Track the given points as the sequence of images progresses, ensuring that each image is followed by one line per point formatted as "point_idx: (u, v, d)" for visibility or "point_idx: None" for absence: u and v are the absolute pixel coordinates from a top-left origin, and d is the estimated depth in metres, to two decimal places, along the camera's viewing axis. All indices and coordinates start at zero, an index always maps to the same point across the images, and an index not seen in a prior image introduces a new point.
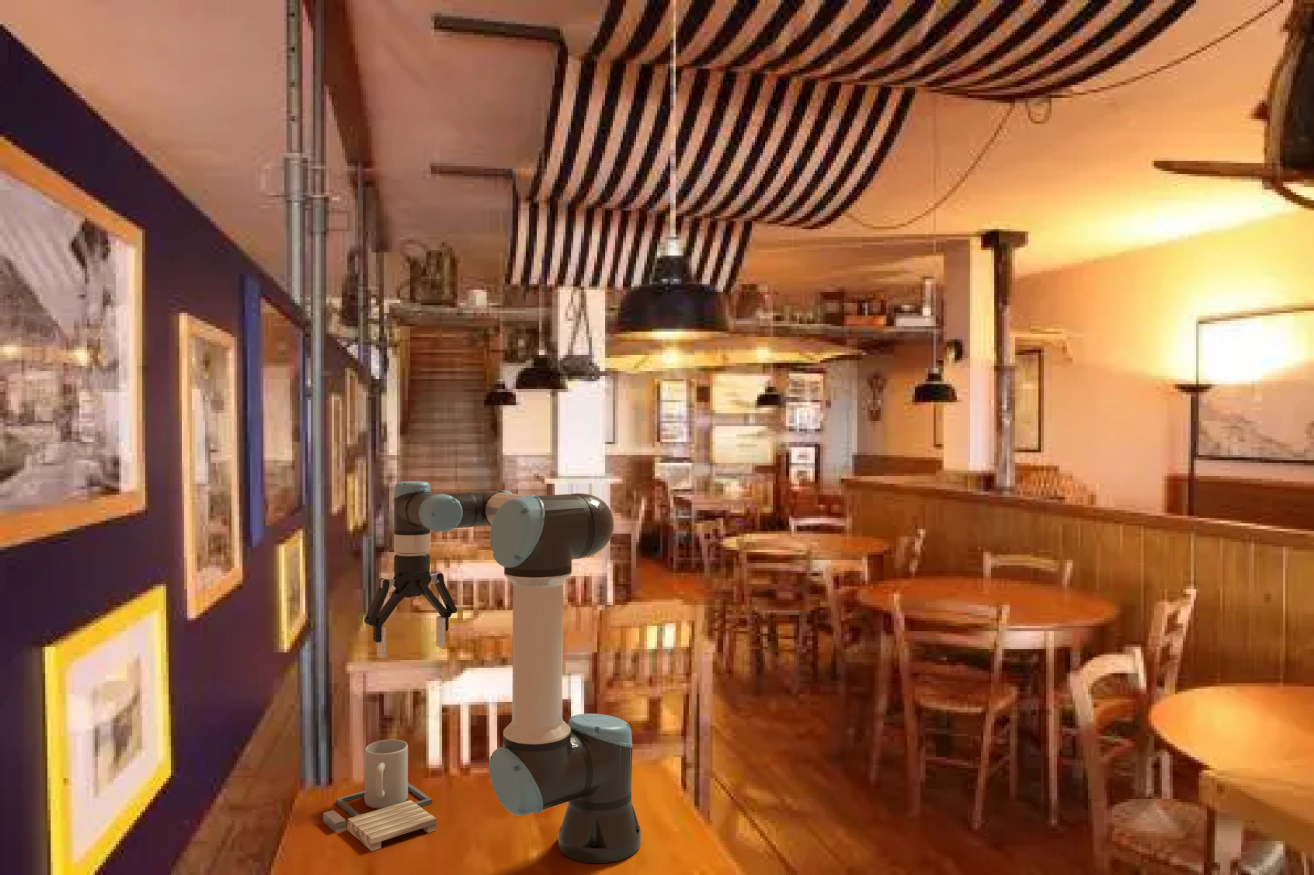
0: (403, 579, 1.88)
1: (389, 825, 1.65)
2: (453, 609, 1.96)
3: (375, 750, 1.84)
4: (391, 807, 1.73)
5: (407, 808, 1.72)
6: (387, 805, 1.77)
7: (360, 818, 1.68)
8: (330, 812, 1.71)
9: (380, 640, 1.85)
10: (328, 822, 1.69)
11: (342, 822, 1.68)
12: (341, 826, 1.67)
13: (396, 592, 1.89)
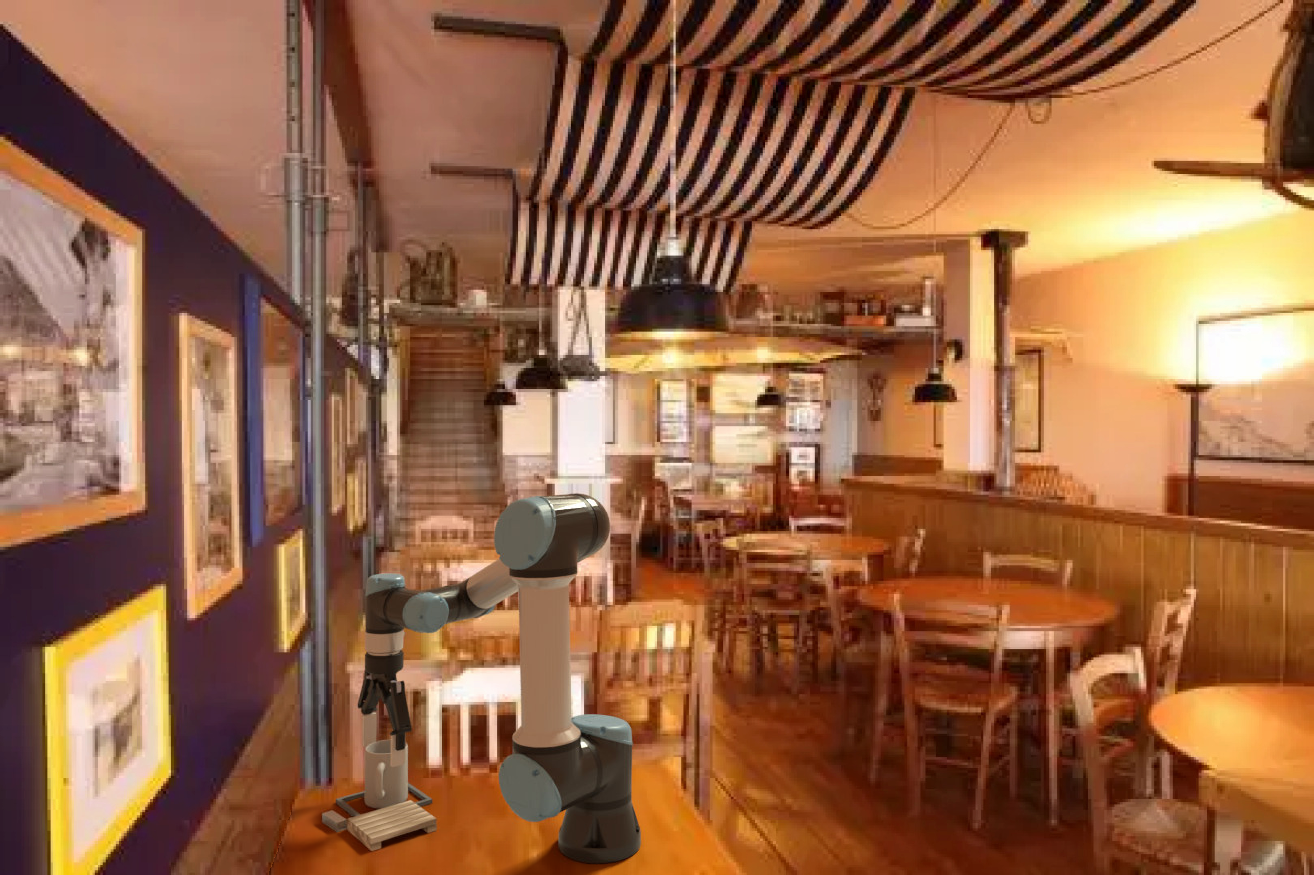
0: (373, 674, 1.81)
1: (389, 825, 1.65)
2: (397, 729, 1.72)
3: (375, 750, 1.84)
4: (391, 807, 1.73)
5: (407, 808, 1.72)
6: (387, 805, 1.77)
7: (360, 818, 1.68)
8: (329, 812, 1.71)
9: None
10: (328, 822, 1.69)
11: (343, 822, 1.68)
12: (342, 826, 1.68)
13: None
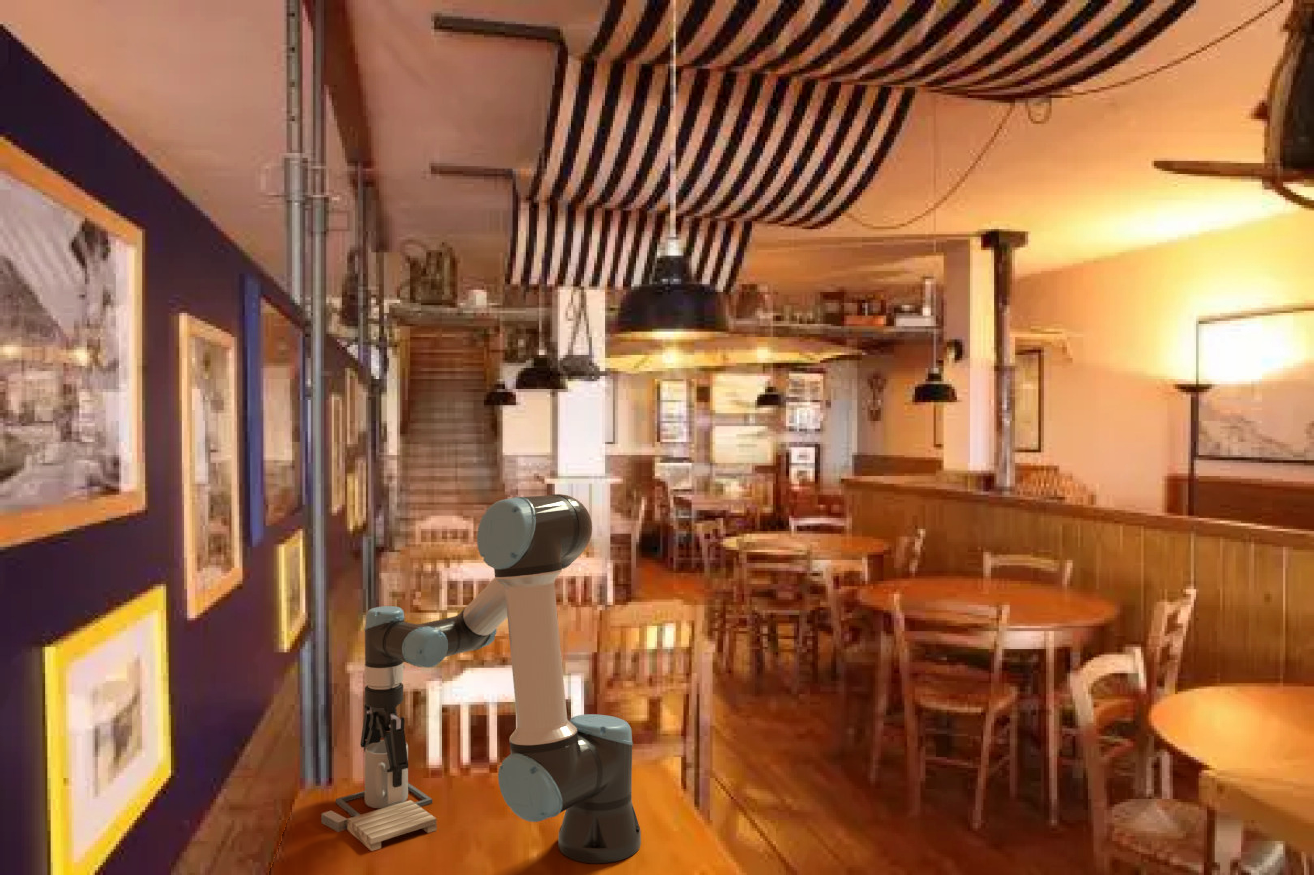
0: None
1: (389, 825, 1.65)
2: (394, 766, 1.73)
3: (375, 750, 1.83)
4: (391, 807, 1.73)
5: (407, 808, 1.72)
6: (387, 805, 1.77)
7: (360, 818, 1.68)
8: (328, 813, 1.71)
9: None
10: (328, 822, 1.69)
11: (344, 821, 1.68)
12: (343, 825, 1.68)
13: None
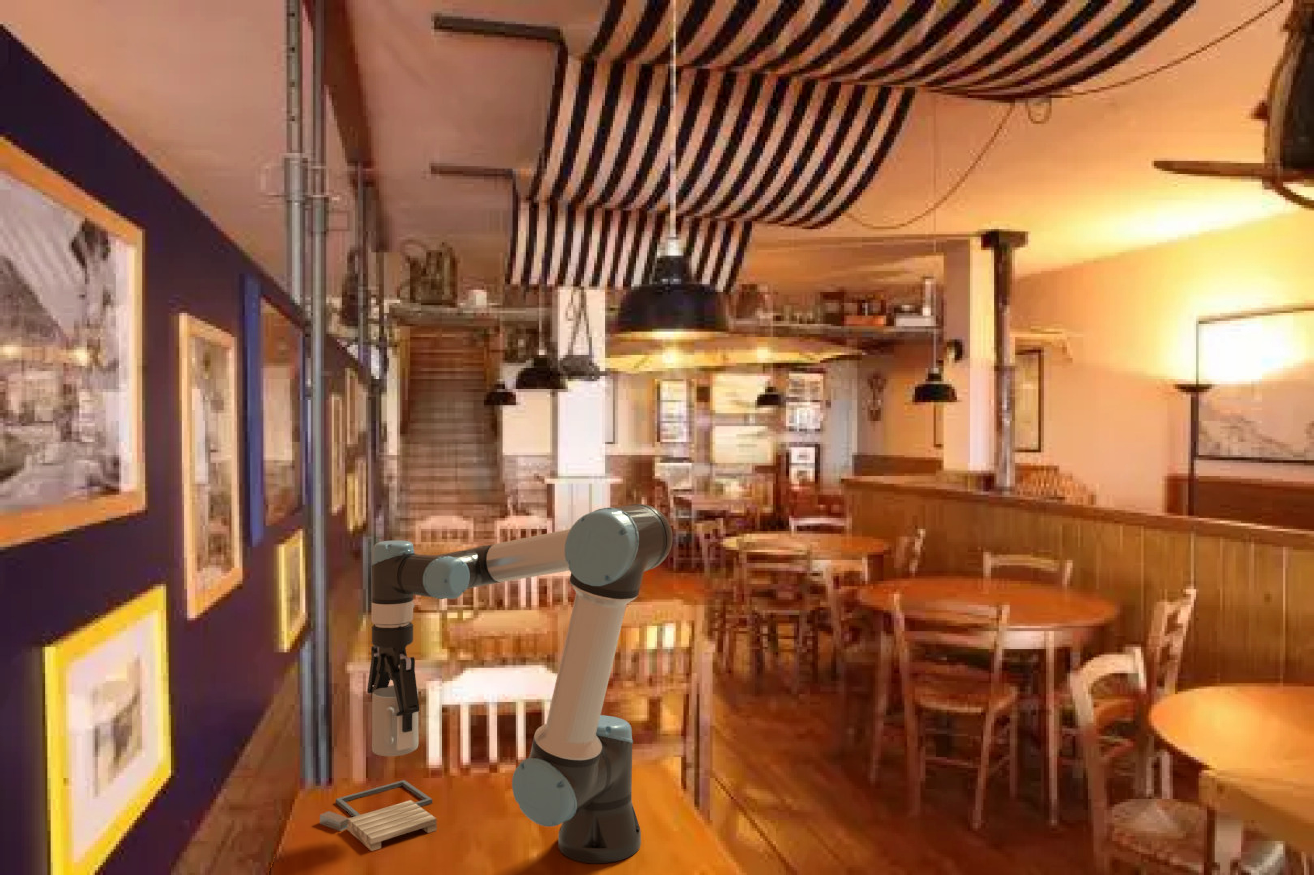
0: (381, 648, 1.69)
1: (389, 825, 1.65)
2: (404, 708, 1.61)
3: (383, 696, 1.71)
4: (391, 807, 1.73)
5: (407, 808, 1.72)
6: (396, 753, 1.65)
7: (360, 818, 1.68)
8: (327, 813, 1.71)
9: None
10: (328, 823, 1.69)
11: (346, 820, 1.68)
12: (345, 824, 1.68)
13: None
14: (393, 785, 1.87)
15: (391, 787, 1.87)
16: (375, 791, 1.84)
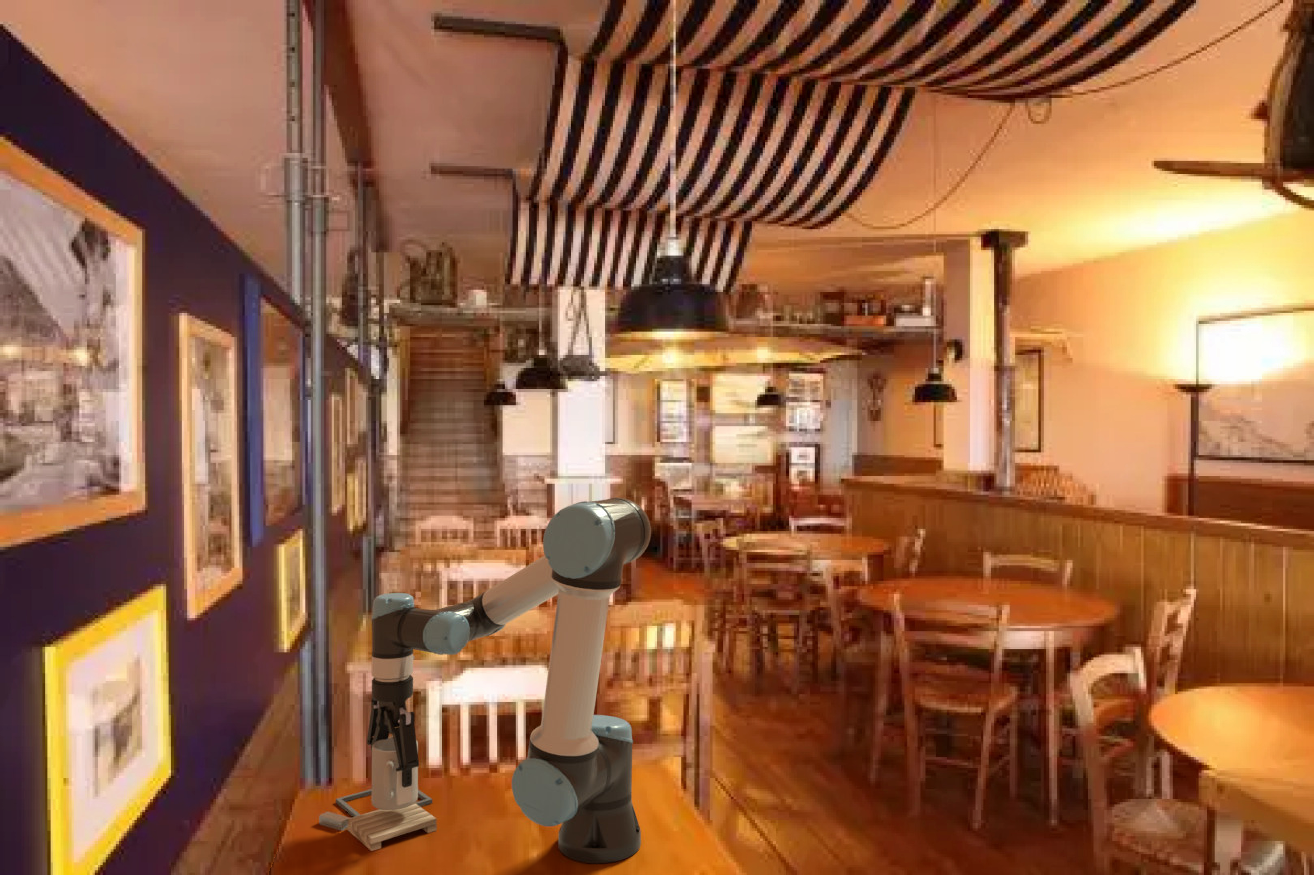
0: None
1: (389, 825, 1.65)
2: (404, 764, 1.61)
3: (383, 748, 1.71)
4: None
5: (407, 808, 1.72)
6: (396, 806, 1.65)
7: (360, 818, 1.68)
8: (326, 813, 1.71)
9: None
10: (328, 823, 1.69)
11: (347, 820, 1.69)
12: (346, 824, 1.68)
13: None
14: None
15: None
16: None
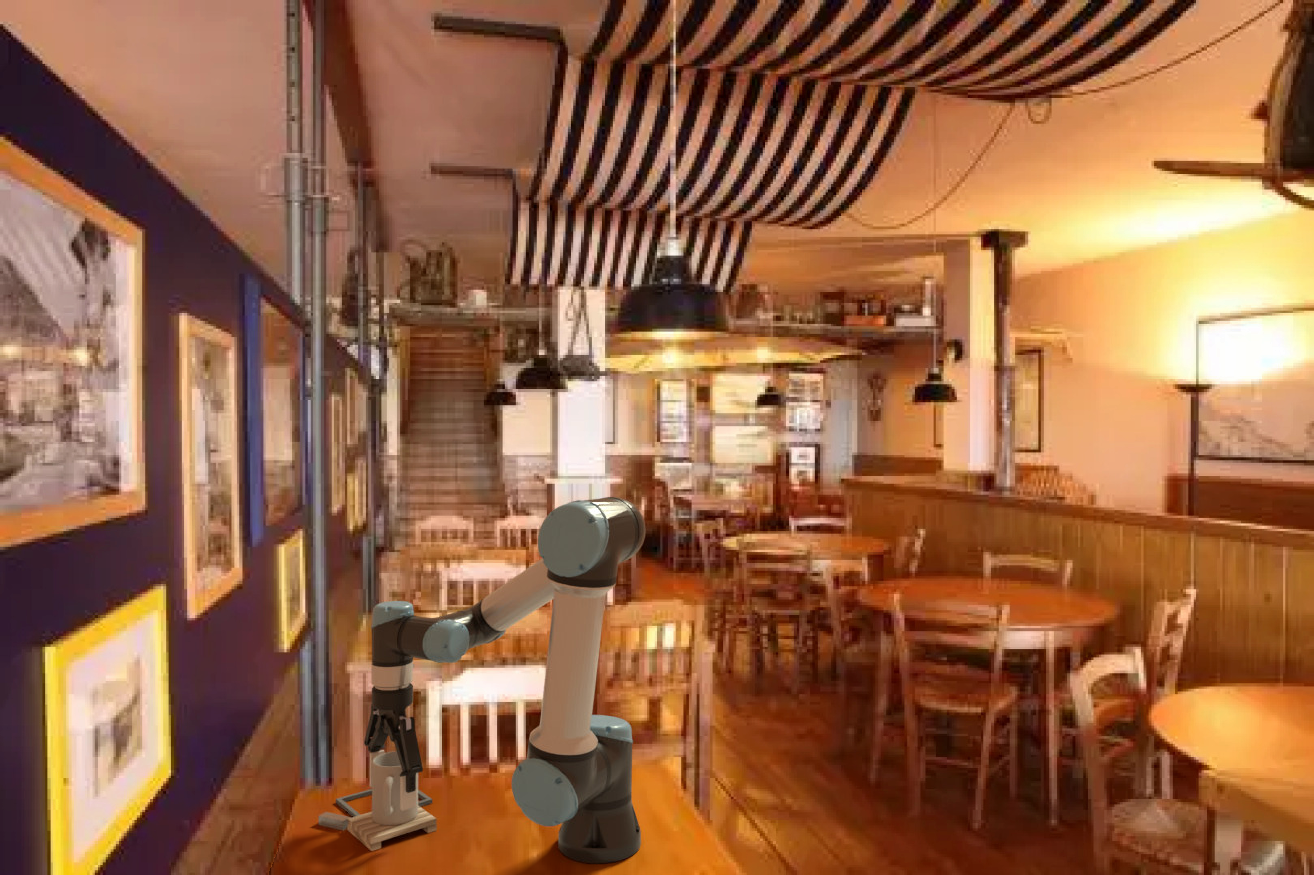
0: (381, 710, 1.69)
1: None
2: (408, 769, 1.60)
3: (383, 762, 1.71)
4: None
5: None
6: (396, 822, 1.65)
7: (360, 818, 1.68)
8: (325, 814, 1.71)
9: None
10: (329, 823, 1.69)
11: (347, 819, 1.69)
12: (347, 823, 1.69)
13: None
14: None
15: None
16: None
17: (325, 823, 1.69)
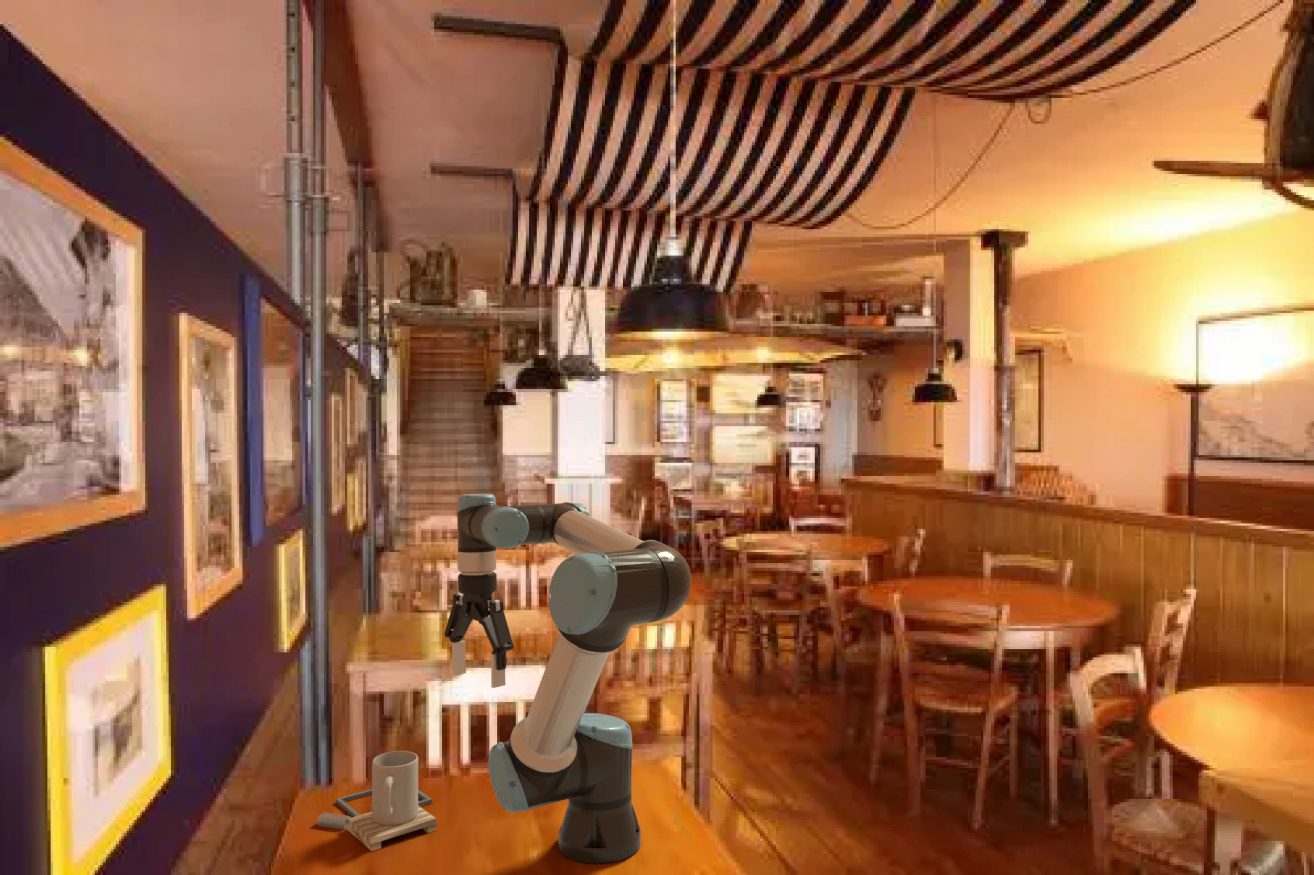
0: (465, 598, 1.76)
1: None
2: (500, 646, 1.67)
3: (383, 762, 1.71)
4: None
5: None
6: (396, 822, 1.65)
7: (360, 818, 1.68)
8: (324, 814, 1.70)
9: None
10: (329, 823, 1.69)
11: None
12: None
13: None
14: None
15: None
16: None
17: (325, 823, 1.69)
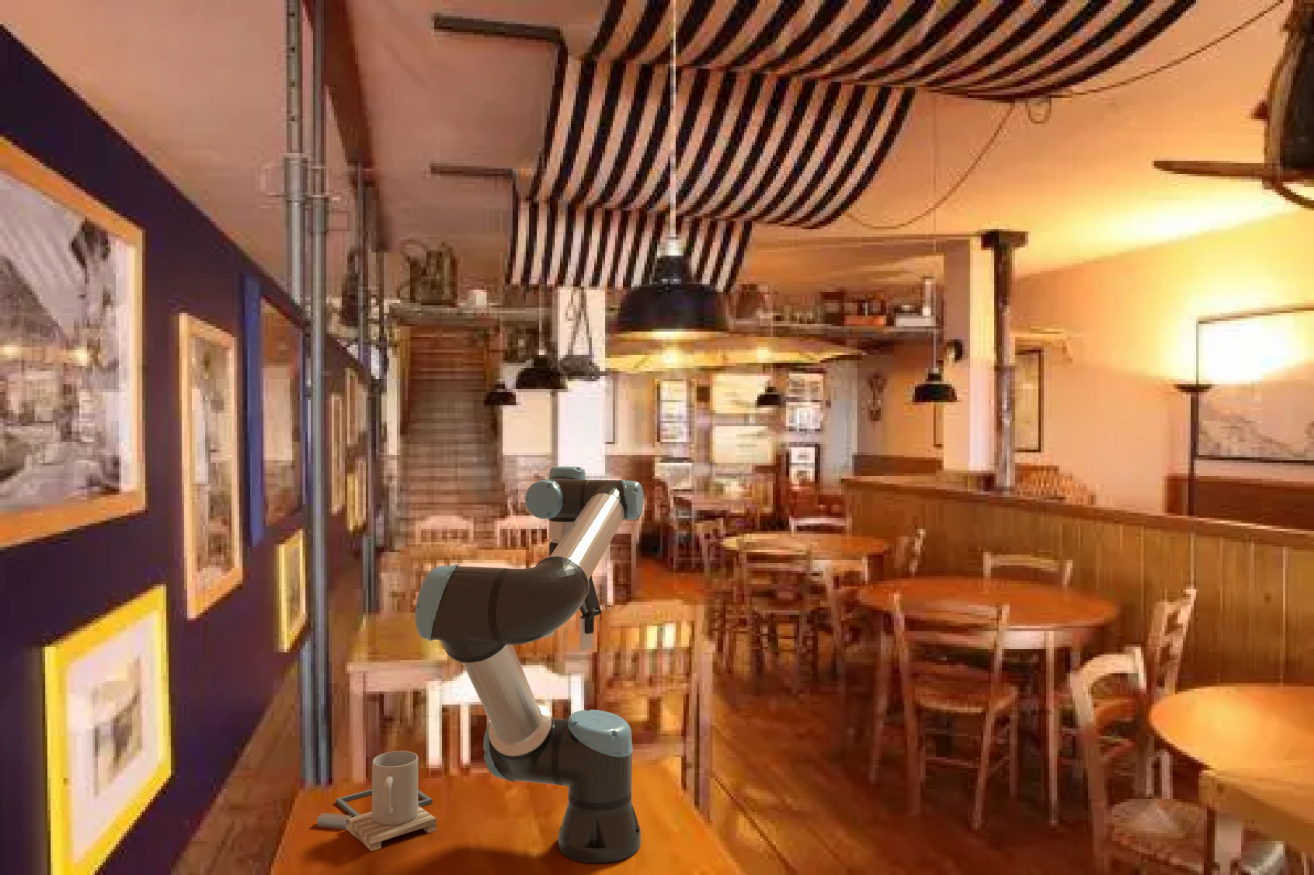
0: None
1: None
2: (588, 611, 1.76)
3: (383, 762, 1.71)
4: None
5: None
6: (396, 822, 1.65)
7: (360, 818, 1.68)
8: (324, 815, 1.70)
9: None
10: (329, 823, 1.69)
11: None
12: None
13: None
14: None
15: None
16: None
17: (325, 824, 1.69)
